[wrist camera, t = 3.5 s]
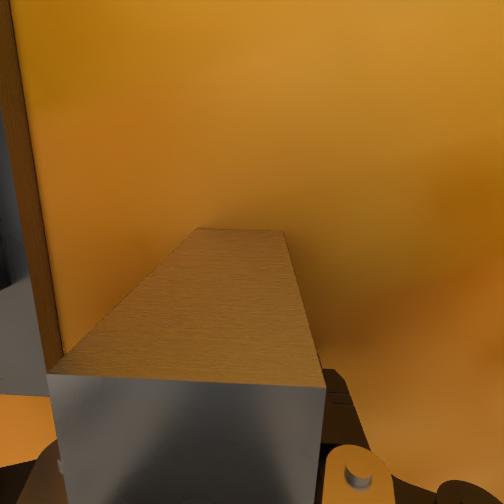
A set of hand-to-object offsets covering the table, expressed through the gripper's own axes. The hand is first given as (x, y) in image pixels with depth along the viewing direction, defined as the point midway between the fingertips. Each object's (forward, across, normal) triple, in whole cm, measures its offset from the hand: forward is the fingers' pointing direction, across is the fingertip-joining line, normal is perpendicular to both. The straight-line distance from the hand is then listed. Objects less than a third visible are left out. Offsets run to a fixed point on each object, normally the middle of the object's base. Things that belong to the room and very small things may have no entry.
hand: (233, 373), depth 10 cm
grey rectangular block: (+2, 0, 0) cm, 2 cm away
